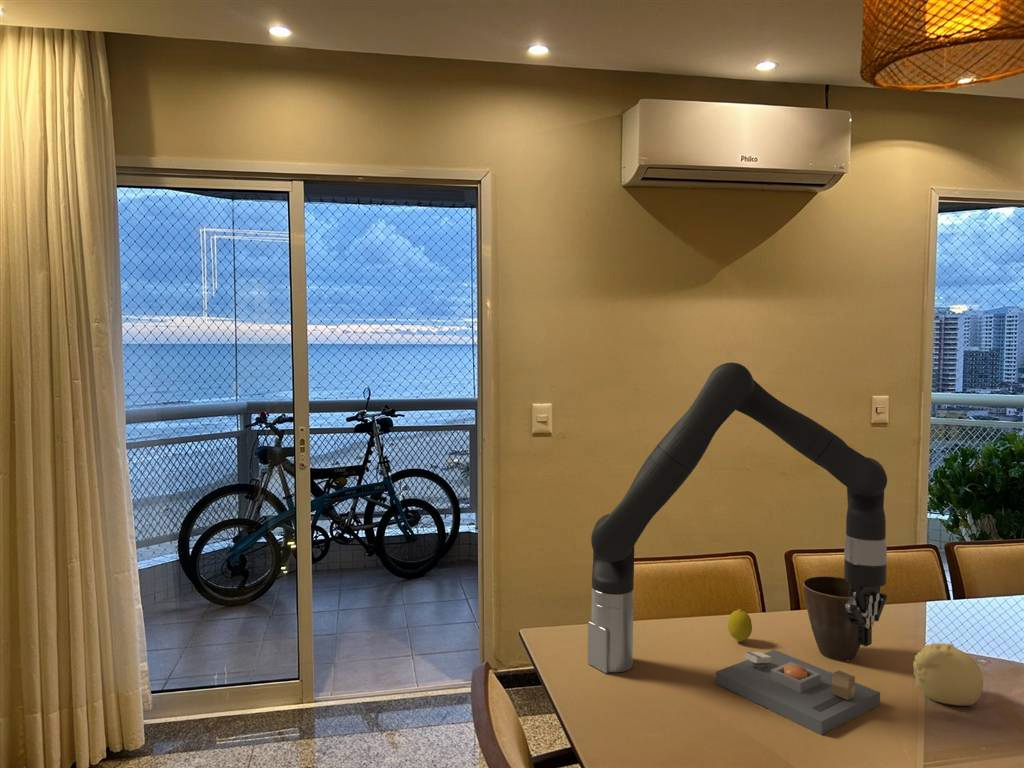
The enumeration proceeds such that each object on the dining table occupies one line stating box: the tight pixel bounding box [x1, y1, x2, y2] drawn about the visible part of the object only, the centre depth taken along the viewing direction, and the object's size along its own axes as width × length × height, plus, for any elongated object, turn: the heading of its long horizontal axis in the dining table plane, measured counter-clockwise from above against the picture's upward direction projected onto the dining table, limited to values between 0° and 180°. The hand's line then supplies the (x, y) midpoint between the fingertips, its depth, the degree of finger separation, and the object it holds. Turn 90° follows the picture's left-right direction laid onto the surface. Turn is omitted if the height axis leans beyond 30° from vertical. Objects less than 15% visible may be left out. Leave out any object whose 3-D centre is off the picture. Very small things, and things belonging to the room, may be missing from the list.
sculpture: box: [912, 642, 984, 707], centre depth 139 cm, size 11×12×11 cm
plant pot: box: [802, 576, 861, 662], centre depth 159 cm, size 15×15×16 cm
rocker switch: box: [744, 651, 771, 663], centre depth 148 cm, size 5×3×1 cm, turn 124°
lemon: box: [727, 608, 753, 643], centre depth 166 cm, size 6×6×8 cm
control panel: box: [715, 649, 881, 736], centre depth 141 cm, size 20×24×4 cm
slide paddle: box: [831, 669, 856, 700], centre depth 134 cm, size 2×3×4 cm
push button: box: [784, 665, 807, 680], centre depth 141 cm, size 4×4×2 cm
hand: (864, 644), depth 138 cm, fingers closed
